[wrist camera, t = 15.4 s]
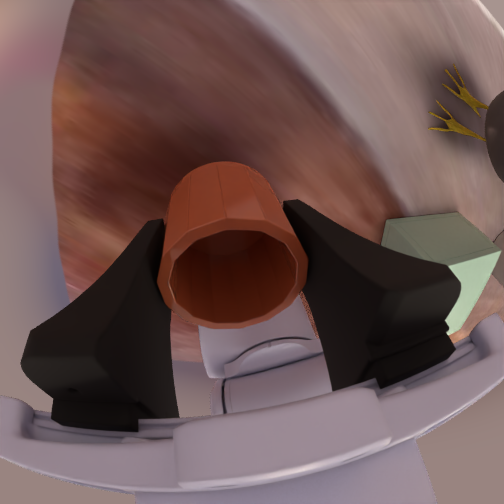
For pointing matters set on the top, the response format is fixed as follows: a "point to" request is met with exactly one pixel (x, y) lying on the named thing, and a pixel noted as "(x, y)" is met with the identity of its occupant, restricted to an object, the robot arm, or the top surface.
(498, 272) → the cup
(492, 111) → the sculpture
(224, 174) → the small cup
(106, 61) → the top surface
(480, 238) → the green rectangular box
